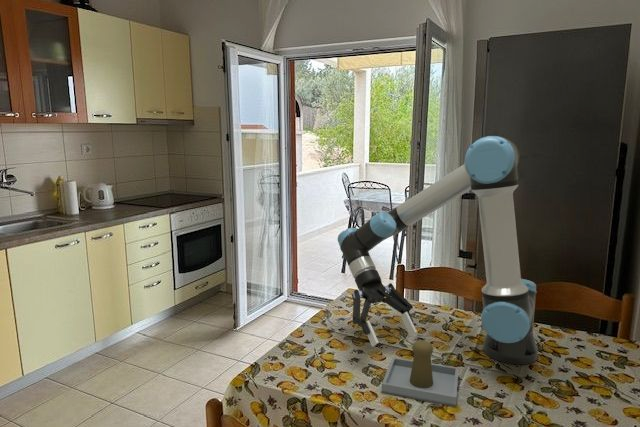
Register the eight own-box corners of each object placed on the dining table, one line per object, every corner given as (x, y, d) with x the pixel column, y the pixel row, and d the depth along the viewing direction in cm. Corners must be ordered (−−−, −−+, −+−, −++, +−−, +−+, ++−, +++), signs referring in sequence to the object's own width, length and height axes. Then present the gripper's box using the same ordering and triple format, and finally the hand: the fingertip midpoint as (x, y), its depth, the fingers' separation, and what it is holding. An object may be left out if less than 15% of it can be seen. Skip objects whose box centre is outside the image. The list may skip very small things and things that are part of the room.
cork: (433, 389, 112) (435, 348, 110) (409, 386, 113) (410, 346, 111) (432, 377, 118) (434, 338, 116) (409, 375, 119) (410, 336, 117)
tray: (458, 376, 119) (458, 367, 119) (455, 407, 105) (456, 397, 105) (392, 365, 125) (392, 356, 125) (381, 392, 111) (381, 383, 111)
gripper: (392, 274, 143) (422, 335, 132) (325, 286, 131) (352, 354, 121) (403, 262, 138) (435, 325, 127) (334, 274, 126) (363, 343, 115)
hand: (395, 339), depth 124 cm, fingers open, 13 cm apart
